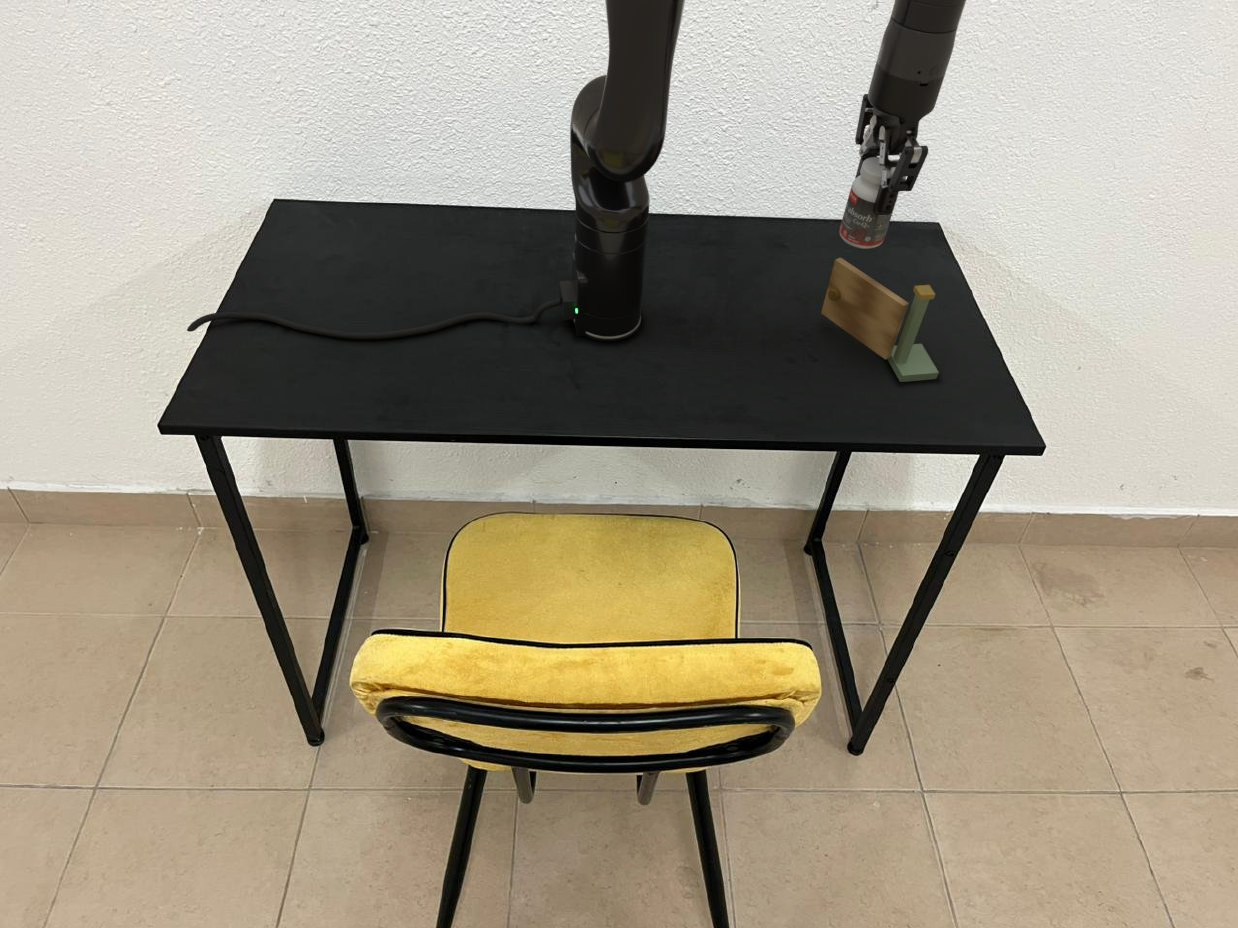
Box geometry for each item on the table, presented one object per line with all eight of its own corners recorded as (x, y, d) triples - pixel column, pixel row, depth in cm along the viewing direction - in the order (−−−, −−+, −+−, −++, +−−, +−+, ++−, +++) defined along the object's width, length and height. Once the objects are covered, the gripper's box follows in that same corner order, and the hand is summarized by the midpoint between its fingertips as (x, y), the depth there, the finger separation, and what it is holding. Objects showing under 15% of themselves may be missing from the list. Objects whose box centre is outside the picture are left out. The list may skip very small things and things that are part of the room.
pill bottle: (829, 234, 116) (847, 163, 109) (857, 220, 119) (877, 149, 112) (864, 256, 113) (886, 184, 106) (892, 240, 116) (915, 169, 109)
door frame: (898, 382, 121) (927, 305, 112) (882, 353, 125) (908, 276, 116) (936, 379, 122) (967, 302, 113) (919, 350, 126) (948, 273, 117)
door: (816, 315, 128) (830, 261, 121) (825, 310, 129) (840, 257, 122) (881, 362, 122) (899, 308, 115) (890, 357, 123) (909, 303, 116)
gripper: (856, 35, 104) (823, 170, 116) (906, 94, 94) (864, 234, 107) (917, 34, 105) (878, 168, 117) (972, 92, 96) (923, 231, 108)
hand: (872, 199), depth 112 cm, fingers closed on pill bottle, 5 cm apart
